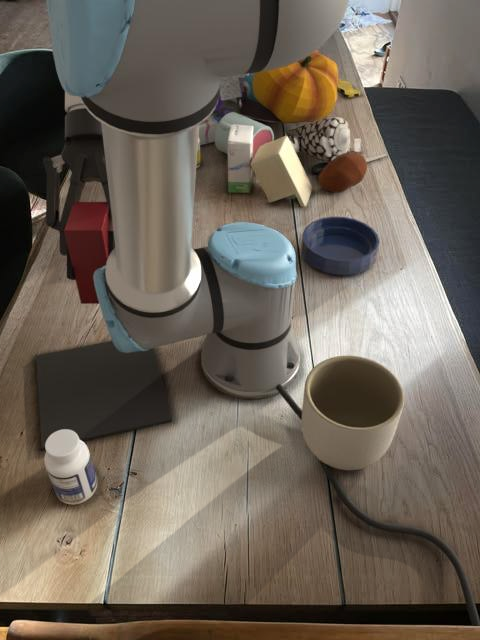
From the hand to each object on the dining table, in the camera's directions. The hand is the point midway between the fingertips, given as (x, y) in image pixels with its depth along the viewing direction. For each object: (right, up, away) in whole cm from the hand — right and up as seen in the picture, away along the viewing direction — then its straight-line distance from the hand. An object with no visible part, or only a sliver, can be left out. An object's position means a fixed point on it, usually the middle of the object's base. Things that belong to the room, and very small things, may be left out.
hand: (92, 278), depth 86 cm
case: (0, -1, +6) cm, 6 cm away
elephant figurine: (+31, +30, +55) cm, 70 cm away
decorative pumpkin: (+32, +47, +62) cm, 84 cm away
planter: (+35, -23, -2) cm, 42 cm away
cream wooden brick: (+26, +29, +39) cm, 55 cm away
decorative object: (+29, +47, +73) cm, 92 cm away
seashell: (+37, +40, +53) cm, 76 cm away
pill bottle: (0, -28, -7) cm, 28 cm away
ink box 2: (+21, +24, +49) cm, 58 cm away
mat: (0, -16, +5) cm, 17 cm away
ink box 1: (+16, +43, +65) cm, 80 cm away
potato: (+41, +28, +47) cm, 68 cm away
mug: (+17, +38, +54) cm, 69 cm away
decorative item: (+48, +59, +85) cm, 114 cm away
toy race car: (+15, +46, +63) cm, 80 cm away
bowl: (+39, +6, +30) cm, 50 cm away
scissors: (+55, +33, +58) cm, 87 cm away
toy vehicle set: (+43, +36, +59) cm, 81 cm away
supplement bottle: (+9, +30, +55) cm, 63 cm away
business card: (+18, +49, +55) cm, 76 cm away
